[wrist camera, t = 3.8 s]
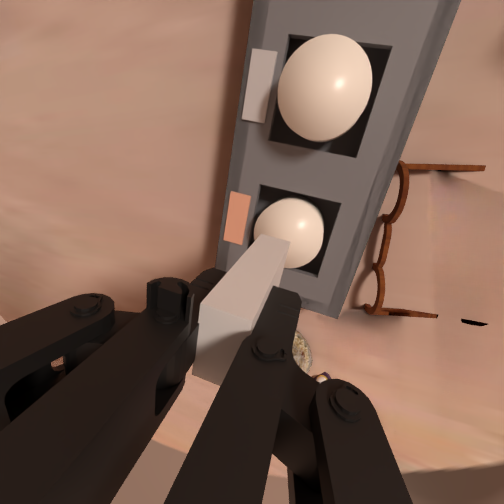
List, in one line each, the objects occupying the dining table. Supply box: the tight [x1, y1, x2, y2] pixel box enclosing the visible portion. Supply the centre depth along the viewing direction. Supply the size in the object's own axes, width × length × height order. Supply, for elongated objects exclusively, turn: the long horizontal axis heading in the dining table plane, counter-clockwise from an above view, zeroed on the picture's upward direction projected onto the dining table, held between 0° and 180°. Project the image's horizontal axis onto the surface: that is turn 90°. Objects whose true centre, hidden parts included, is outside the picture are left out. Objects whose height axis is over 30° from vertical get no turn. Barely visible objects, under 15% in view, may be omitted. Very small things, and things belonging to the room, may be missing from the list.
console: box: [215, 0, 461, 319], centre depth 18 cm, size 30×11×4 cm, turn 169°
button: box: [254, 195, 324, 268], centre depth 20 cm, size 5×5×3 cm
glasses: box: [364, 160, 487, 326], centre depth 21 cm, size 13×13×5 cm
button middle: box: [278, 34, 372, 142], centre depth 16 cm, size 5×5×3 cm
